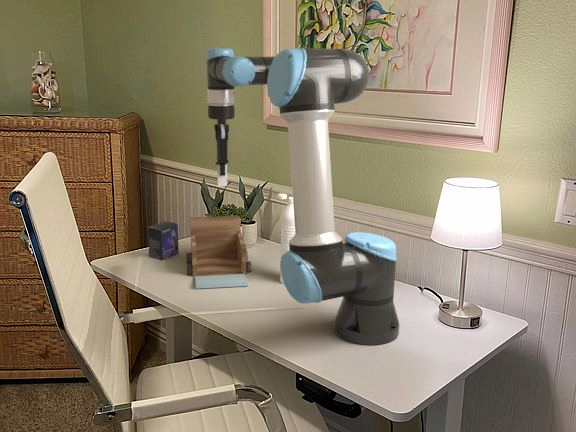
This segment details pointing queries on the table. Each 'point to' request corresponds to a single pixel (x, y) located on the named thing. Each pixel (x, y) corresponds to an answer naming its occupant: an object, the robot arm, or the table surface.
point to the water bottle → (286, 226)
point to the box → (163, 240)
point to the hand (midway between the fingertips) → (222, 185)
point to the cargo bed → (217, 247)
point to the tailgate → (221, 281)
